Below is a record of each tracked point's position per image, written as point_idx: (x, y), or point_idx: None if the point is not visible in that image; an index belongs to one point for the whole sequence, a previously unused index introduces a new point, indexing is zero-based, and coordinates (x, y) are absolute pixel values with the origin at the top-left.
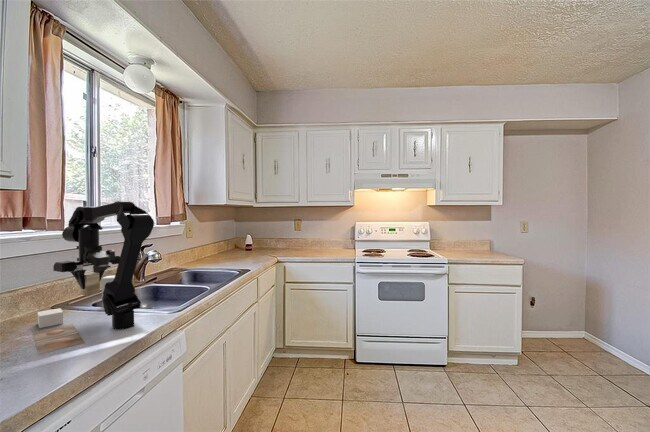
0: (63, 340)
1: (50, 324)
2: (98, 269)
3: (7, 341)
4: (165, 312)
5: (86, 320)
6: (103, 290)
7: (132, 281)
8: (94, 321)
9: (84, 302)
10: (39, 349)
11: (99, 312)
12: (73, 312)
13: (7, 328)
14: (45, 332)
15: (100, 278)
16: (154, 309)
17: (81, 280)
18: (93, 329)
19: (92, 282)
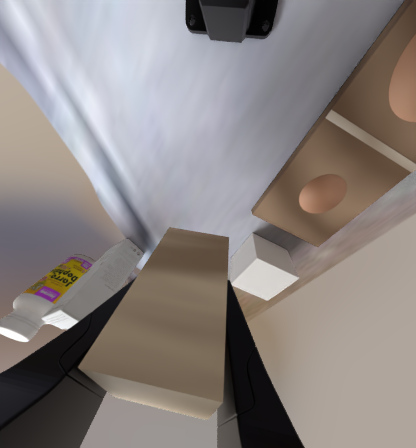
0: None
1: (273, 249)
2: (45, 428)
3: (344, 256)
4: (21, 14)
5: (205, 222)
6: (115, 287)
7: (34, 285)
8: (203, 198)
9: None
10: None
11: (159, 241)
12: None
13: (275, 302)
14: (321, 218)
15: (111, 301)
16: (52, 115)
17: (253, 346)
18: (254, 134)
19: (186, 289)
